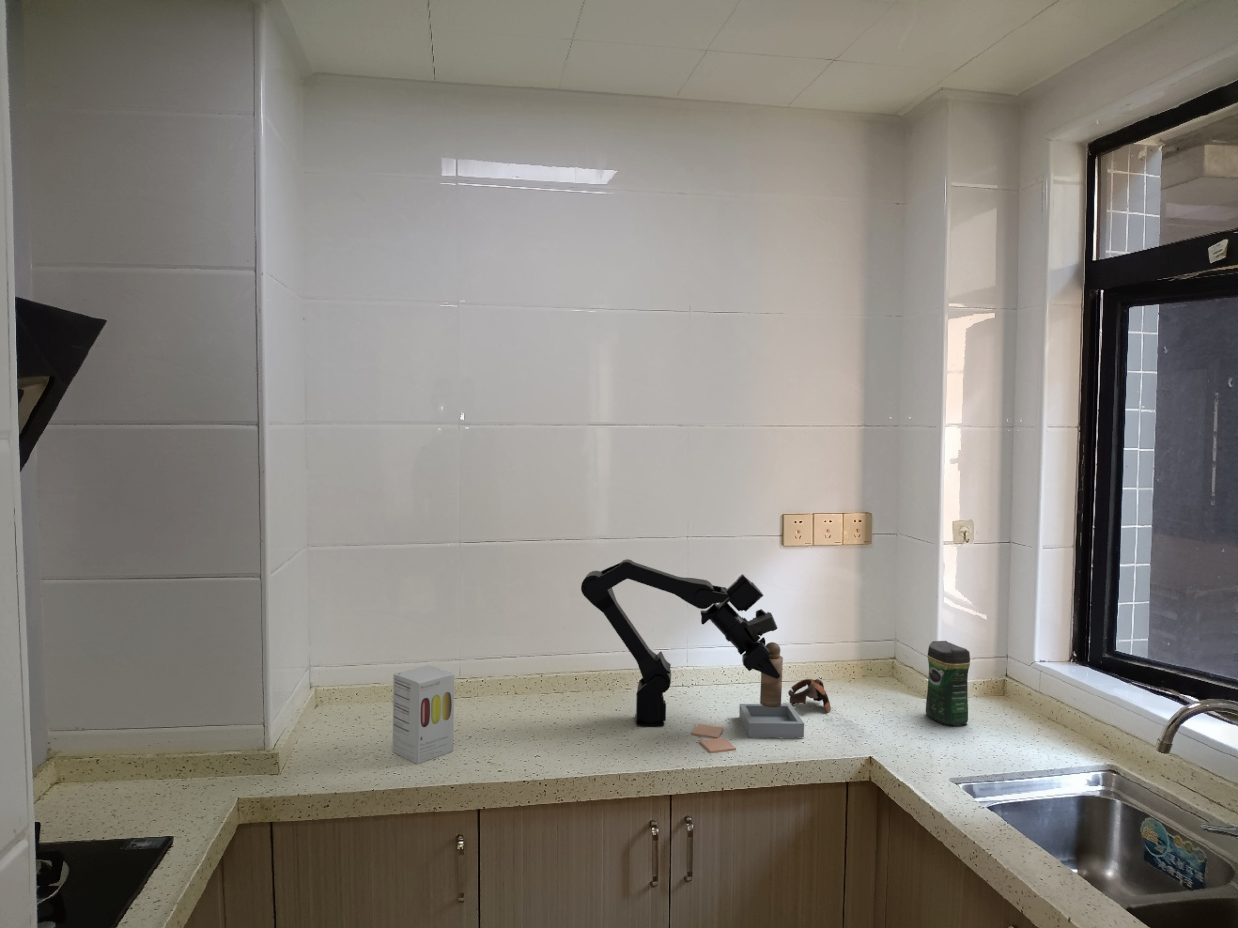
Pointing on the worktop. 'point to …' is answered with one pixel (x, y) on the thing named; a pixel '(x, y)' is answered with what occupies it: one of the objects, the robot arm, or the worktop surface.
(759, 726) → the tray
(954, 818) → the worktop surface
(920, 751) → the worktop surface
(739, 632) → the robot arm
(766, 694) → the pepper mill
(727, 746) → the tile
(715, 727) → the tile
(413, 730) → the supplement box
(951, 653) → the coffee jar
